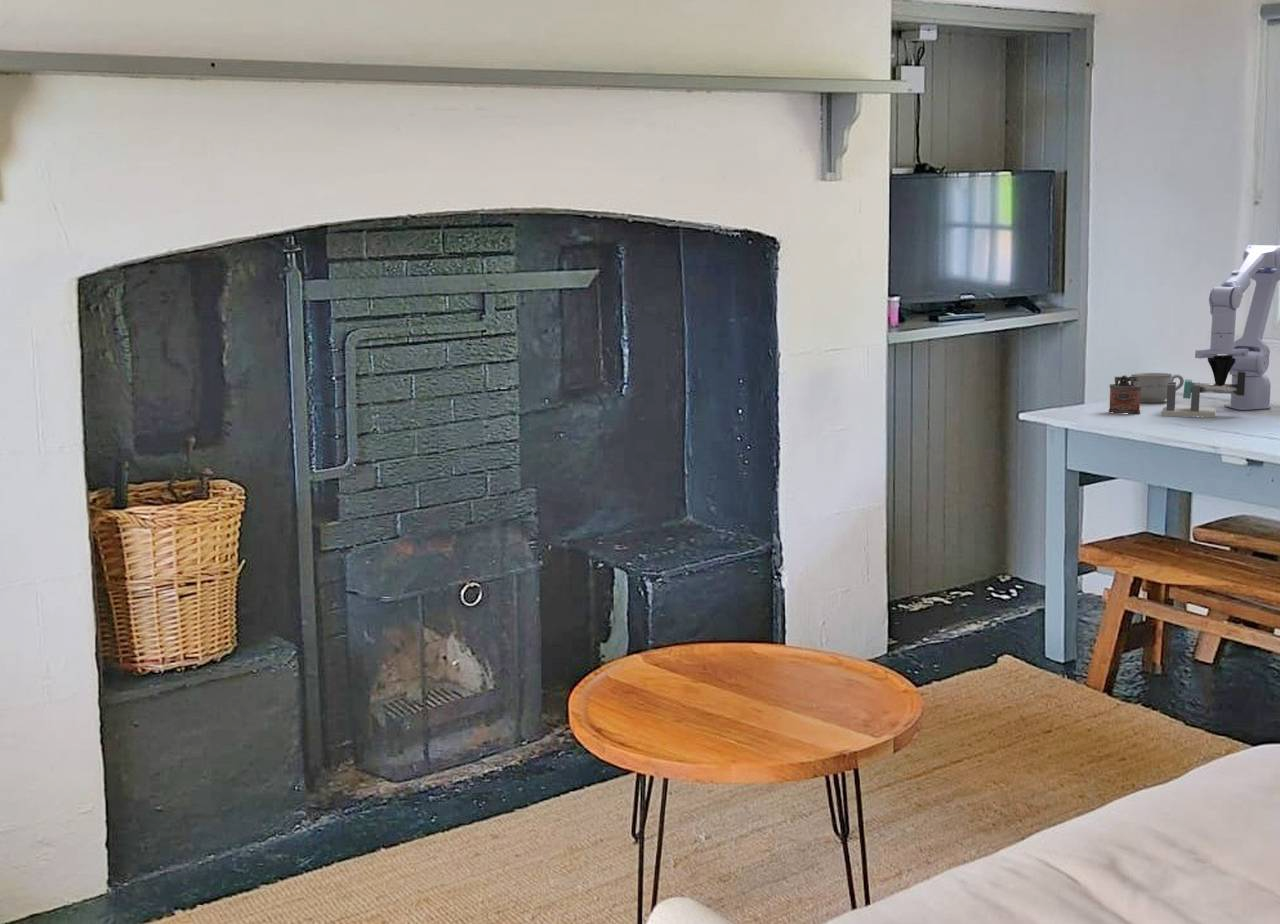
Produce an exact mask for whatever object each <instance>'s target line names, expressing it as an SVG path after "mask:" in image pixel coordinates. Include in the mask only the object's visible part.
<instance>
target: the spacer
mask: <svg viewBox="0 0 1280 924" xmlns="http://www.w3.org/2000/svg"><path fill="white" fill-rule="evenodd" d="M1192 383H1193V379H1186V378H1185V379H1184V384H1183V396H1182V398H1183V399H1187V400H1188V399H1190V400H1191V394H1192V393H1191V388H1192Z"/></svg>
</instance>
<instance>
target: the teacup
mask: <svg viewBox="0 0 1280 924" xmlns="http://www.w3.org/2000/svg"><path fill="white" fill-rule="evenodd" d="M1131 376H1134V377H1138V378H1139V381H1138V382H1134V381H1133V382H1134V385H1141V389H1140V403H1163V402H1165V401H1167V386H1168V382H1174V380H1175V379H1179V383H1178V384H1177V385H1176V392H1177V391H1178V390H1180V389H1181V388H1182V387H1184V384H1185V379H1184V377H1183V375H1181V374H1176V373H1175V374H1172V373H1167V372H1140V373H1131Z"/></svg>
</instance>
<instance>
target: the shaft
mask: <svg viewBox="0 0 1280 924" xmlns="http://www.w3.org/2000/svg"><path fill="white" fill-rule="evenodd" d="M1192 385H1200V394H1228V395H1231V394H1237V395H1240V396H1244V390H1245V371H1238V376H1237V384H1232V383H1225V385H1223V386H1219V385H1218V384H1215V383H1210V382H1209V383H1207V382H1206V383H1204V382H1192ZM1191 394H1192V388H1191Z"/></svg>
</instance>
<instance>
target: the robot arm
mask: <svg viewBox="0 0 1280 924" xmlns="http://www.w3.org/2000/svg"><path fill="white" fill-rule="evenodd" d="M1242 256H1243V258H1242V259H1243V260H1242V261H1243V262H1241V265H1240V266H1239V268H1238V269H1235V270H1232V271H1231V272H1230V273H1229V274H1228V276H1227V277H1226V278H1225V279H1224V280H1223V282H1222V283H1221V284H1220V285H1218V286H1215V287H1213V288H1212V289H1211V290H1210V293H1209V297H1208V303H1209V304H1208V305H1209V307H1210V309H1209V313H1210V315H1211V330H1210V347H1209V349H1208V348H1207V349H1198V350H1195V352H1194V358H1195V359H1207V363H1208V364H1209V366H1210V368H1211V371H1212V374H1213V379H1214V384H1218V385H1219V386H1223V385H1225V384H1226V381H1227V379H1228V376H1229V375H1231V384H1237V376H1238V371H1245V390H1244V396H1240V395H1237V394H1230V403H1226V404H1225V403H1224V404H1223V407H1224V408H1225V407H1226V408H1230V409H1235V410H1238V411H1246V410H1247V411H1248V410H1249V411H1250V410H1265V409H1267V410H1268V409H1271V408H1272V406H1271V405H1270V404H1271V403H1270V402H1271V389H1272V388H1271V381H1270V378H1269V376H1267V375H1266V374H1265V373H1266V372H1267V371H1268V369H1269V365H1270V355H1271V351H1270V348H1269V346H1268V345H1267V344H1266V343H1265V342H1263V337H1264V333H1265V330H1266V326H1267V322H1268V319H1269V313H1270V310H1271V307H1272V302H1273V298H1274V295H1275V291H1276V287H1277V282H1279V281H1280V244H1279V245H1265V244H1263V245H1260V244H1259V245H1257V244H1248V245H1247V246H1246V247H1245V249H1244V251H1243V255H1242ZM1251 280H1253V281H1255V287H1254V292H1253V295H1252V298H1251V302H1250V307H1249V311H1248V314H1247V318H1246V323H1245V326H1244V329H1243V334H1242V336H1241V337H1240V338H1238V339H1236V340H1235V338H1236V337H1235V335H1236V334H1235V333H1236V319H1237V309H1239V308H1240V306H1241V302H1242V299H1243V298H1244V297H1243V295H1244V292H1246V290H1247V289H1248V288H1249V287H1250V285H1251V282H1252V281H1251Z"/></svg>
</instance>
